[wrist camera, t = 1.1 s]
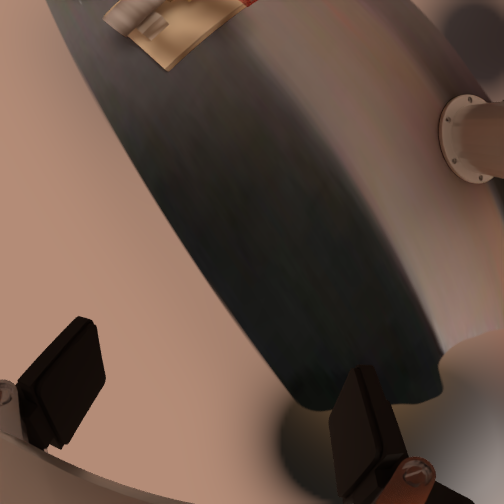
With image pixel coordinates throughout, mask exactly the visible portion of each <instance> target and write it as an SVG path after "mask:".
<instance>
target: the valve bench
mask: <svg viewBox="0 0 504 504" xmlns="http://www.w3.org/2000/svg"><path fill="white" fill-rule="evenodd" d="M245 7H247V6H245V5H244V4H243V3H241V2H240V1H239V0H119V1H118V2H117V3H116V4H115V5H114V6H113V7H112V8H111V9H110V10H109V11H108V12H107V13H106V14H105V15H104V17H103V18H102V19H103V20H104V21H105V22H106V23H108V24H109V25H110V26H111V27H113V28H114V29H115V30H117V31H118V32H119V33H121V34H122V35H123V36H125V37H127V36H128V37H129V38H131V39H132V40H133V41H134V42H135V43H136V44H137V45H139V46H140V47H141V48H142V49H143V50H144V51H145V52H146V53H148V54H149V55H150V56H151V57H152V58H153V59H154V60H155V61H156V62H157V63H159V64H160V65H161V66H162V67H163V68H164V69H165V70H167V71H168V72H169V71H170V70H171V69H172V68H173V67H174V66H175V65H176V64H177V63H178V62H179V61H181V60H182V59H183V58H184V57H185V56H186V55H187V54H188V53H189V52H190V51H192V50H193V49H194V48H195V47H196V46H197V45H198V44H200V43H201V42H202V41H203V40H204V39H206V38H207V37H208V36H209V35H210V34H212V33H213V32H214V31H215V30H217V29H218V28H219V27H220V26H222V25H223V24H224V23H225V22H227V21H228V20H229V19H231V18H232V17H233V16H235V15H236V14H237V13H239V12H240V11H241V10H243V9H244V8H245Z"/></svg>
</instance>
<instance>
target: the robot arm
mask: <svg viewBox="0 0 504 504" xmlns="http://www.w3.org/2000/svg"><path fill="white" fill-rule="evenodd" d="M439 141H440V145H441V150H442V153H443V155H444V158H445V160H446V162H447V164H448V165H449V167H450V168H451V169H452V171H453V172H454V173H455V174H456V175H457V176H458V177H460V178H461V179H463V180H464V181H467V182H470V183H475V184H481V183H485V182H487V181H489V180H490V179H492V178H493V177H498V178H502V179H504V100H503V101H502V102H493V103H487V102H486V101H484V100H483V99H482V98H480V97H478V96H475V95H471V94H465V95H460V96H457V97H455V98H453V99H451V100H450V101H449V102H448V103H447V105H446V106H445V108H444V109H443V112H442V114H441V118H440V122H439ZM105 380H106V375H105V371H104V366H103V361H102V356H101V350H100V344H99V338H98V332H97V327H96V325H94V323H93V321H92V320H90V319H87V318H83V317H80V316H78V317H76V318H75V319H74V320H73V321H72V322H71V323H70V324H69V325H68V326H67V327H66V328H65V329H64V330H63V331H62V332H61V333H60V335H59V336H58V337H57V338H56V339H55V340H54V341H53V342H52V343H51V344H50V345H49V346H48V347H47V348H46V349H45V350H44V351H43V352H42V354H41V355H40V356H39V357H38V358H37V359H36V360H35V361H34V362H33V363H32V364H31V366H30V367H29V368H28V369H27V370H26V371H25V372H24V373H23V375H22V376H21V377H20V378H19V379H18V383H17V384H16V385H14V384H13V383H12V382H11V381H7V380H0V504H192V503H188V502H183V501H179V500H174V499H170V498H166V497H162V496H159V495H155V494H151V493H148V492H144V491H141V490H137V489H135V488H131V487H128V486H125V485H122V484H119V483H116V482H114V481H111V480H108V479H105V478H103V477H100V476H98V475H95V474H93V473H90V472H87V471H85V470H83V469H81V468H78V467H76V466H74V465H72V464H69V463H67V462H65V461H63V460H60V459H59V458H56V457H54V456H52V455H50V454H48V451H47V447H48V446H49V444H51V445H52V446H55V447H57V448H58V449H62V447H63V446H64V444H68V443H69V442H70V440H71V438H72V437H73V435H74V433H75V432H76V430H77V428H78V427H79V425H80V423H81V421H82V420H83V418H84V416H85V415H86V413H87V411H88V410H89V408H90V407H91V405H92V403H93V402H94V400H95V398H96V397H97V395H98V393H99V392H100V390H101V389H102V387H103V386H104V384H105ZM329 429H330V437H331V444H332V451H333V459H334V467H335V474H336V482H337V492H338V496H339V497H342V498H343V504H349V503H354V504H474V503H473V501H472V500H470V499H468V498H467V497H465V496H463V495H461V494H459V493H457V492H455V491H453V490H451V489H449V488H448V487H446V486H444V485H442V484H440V483H438V482H437V481H435V479H436V471H435V469H434V467H433V465H432V464H431V463H430V462H429V461H427V460H426V459H424V458H421V457H409V456H408V454H407V450H406V447H405V444H404V441H403V438H402V435H401V432H400V429H399V426H398V423H397V421H396V418H395V415H394V412H393V409H392V406H391V404H390V402H389V401H388V400H386V398H385V396H384V393H383V390H382V387H381V385H380V382H379V379H378V377H377V374H376V371H375V369H374V367H373V366H372V365H357V366H356V367H355V368H352V369H351V370H350V372H349V374H348V377H347V379H346V381H345V384H344V386H343V388H342V390H341V393H340V395H339V397H338V399H337V401H336V404H335V406H334V408H333V410H332V412H331V414H330V417H329Z"/></svg>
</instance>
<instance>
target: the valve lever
mask: <svg viewBox="0 0 504 504" xmlns="http://www.w3.org/2000/svg"><path fill="white" fill-rule="evenodd" d="M239 1H240V2H241V3H243V4H244V5H245V6H247V7H249V6H250V5H252V4H253V3H254V2H256V1H257V0H239Z"/></svg>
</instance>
